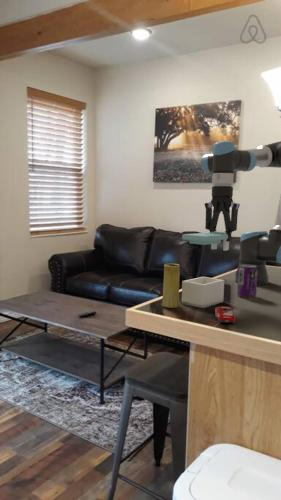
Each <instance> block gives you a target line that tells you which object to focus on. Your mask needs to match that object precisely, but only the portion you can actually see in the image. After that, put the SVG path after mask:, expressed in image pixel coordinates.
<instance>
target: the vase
mask: <svg viewBox="0 0 281 500" xmlns="http://www.w3.org/2000/svg"><path fill="white" fill-rule="evenodd" d="M180 267H181V265H180V264H178V263H164V266H163V284H162V285H163V286H162V301H161V306H162V307H164V308H168V309H169V308H170V309H176V308H179V307H180V305H181V304H180V272H181V270H180V269H181V268H180Z"/></svg>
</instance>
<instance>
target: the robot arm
mask: <svg viewBox="0 0 281 500" xmlns="http://www.w3.org/2000/svg"><path fill="white" fill-rule="evenodd" d="M212 152H213V153H212ZM212 152H211V153H207V154H204V155H202V157H201V159H200V163H199V164H200V168H201V171H203V172H204V173H208V174H212V180H211V183H212V184H211V185H212V187H211V201H209V202H205V203H204V207H205V230H208V231H209V233H211V232H218V231H217V227H218V222H219V217H220V215H221V213H222V215H223V221H224V228H225V231H224V232H225V233H224V234H227V235H228V239H224V240H223V242H222V243H223V247H222V251H226V252H227V251H229V250H230V242H231V241H232V233H234V232H236V231H237V229H238V217H239V215H238V213H239V208H240V206H241V205H240V203H239V202H238V203H237V202H234V200H233V195H234V194H233V193H234V187H233V185H234V174H235V173H234V172H244V173H245V172H251V171H253V170H254V169H255V167H259V168H276V169H278V168H279V169H281V140H280V141H277V142H272V143H269V144H264V145H260V146H258V147H257V148H250V149H236V143H235V142H233V141H226V140H225V141H217V142H215V143H214V145H213V151H212ZM230 209H231V210H230ZM210 245H211V246H210V249H211V250H217V249H218V243H216V244H210ZM267 262H270V263H277V264H281V194H280V196H279V201H278V206H277V211H276V216H275V221H274V226H273V227H271V228H270V229H269V231H267V230H263V231H262V230H260V231H259V230H258V231H247V232H246V231H245V232H242V234H241V235H240V241H239V264H238V267H237V270H236V272H235V275H234V282H236V283H238V270H239V268H240V265H244V264H246V265H255V266H257V267H256V268H257V271H258V272H257V285H258V286H259V285H260V286H261V285H268V284H270V283H269V282H270V277H269V273H268V270H267Z"/></svg>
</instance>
